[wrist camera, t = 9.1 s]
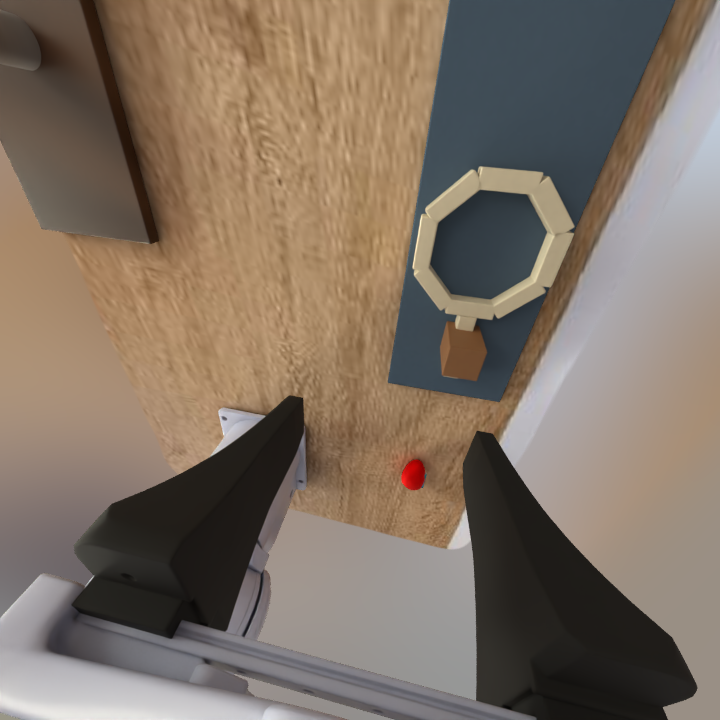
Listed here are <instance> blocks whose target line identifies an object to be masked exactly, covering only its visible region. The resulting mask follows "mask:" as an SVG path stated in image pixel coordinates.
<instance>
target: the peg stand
mask: <svg viewBox="0 0 720 720" xmlns="http://www.w3.org/2000/svg"><path fill="white" fill-rule="evenodd" d="M0 141H1V143H2V145H3V148H4V150H5V152H6V154H7V156H8V158H9V160H10V162H11V164H12V167H13V169H14V171H15V173H16V175H17V177H18V180H19V182H20V184H21V186H22V188H23V190H24V192H25V195H26V197H27V199H28V201H29V203H30V205H31V207H32V210H33V212H34V214H35V216H36V218H37V220H38V222H39V224H40V227H41V228H42V229H45V230H52V231H60V232H67V233H74V234H82V235H89V236H96V237H104V238H111V239H118V240H126V241H133V242H140V243H148V244H152V243H155V242H158V241H159V239H158V236H157V232H156V228H155V225H154V221H153V217H152V214H151V210H150V206H149V203H148V199H147V195H146V192H145V188H144V184H143V181H142V177H141V174H140V170H139V166H138V163H137V159H136V155H135V152H134V148H133V144H132V141H131V137H130V133H129V130H128V126H127V123H126V119H125V115H124V112H123V108H122V104H121V101H120V97H119V93H118V90H117V86H116V82H115V79H114V75H113V71H112V68H111V64H110V61H109V57H108V53H107V50H106V46H105V42H104V39H103V35H102V31H101V28H100V24H99V20H98V17H97V13H96V9H95V6H94V2H93V0H0Z"/></svg>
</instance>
